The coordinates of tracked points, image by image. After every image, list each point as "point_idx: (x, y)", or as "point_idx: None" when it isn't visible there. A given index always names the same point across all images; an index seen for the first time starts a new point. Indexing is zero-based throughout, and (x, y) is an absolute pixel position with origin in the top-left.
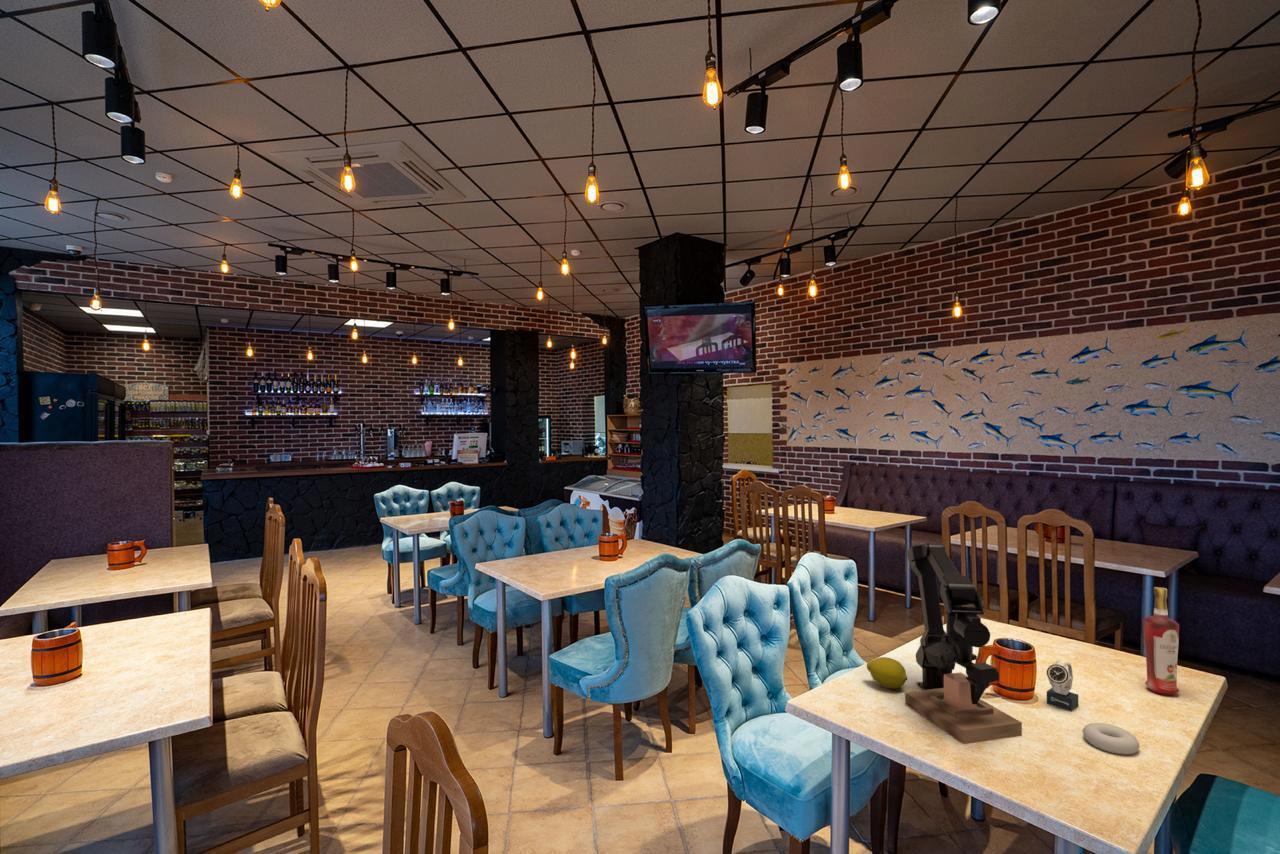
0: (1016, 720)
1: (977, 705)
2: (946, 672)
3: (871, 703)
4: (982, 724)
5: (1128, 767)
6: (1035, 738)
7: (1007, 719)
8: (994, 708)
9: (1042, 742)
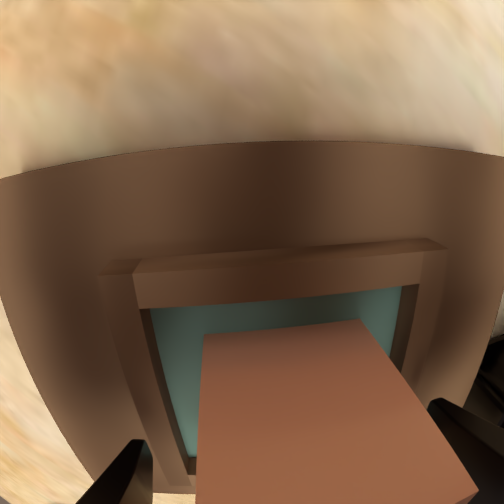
0: None
1: None
2: (484, 488)
3: (486, 11)
4: (44, 353)
5: (10, 486)
6: None
7: None
8: None
9: (72, 459)
